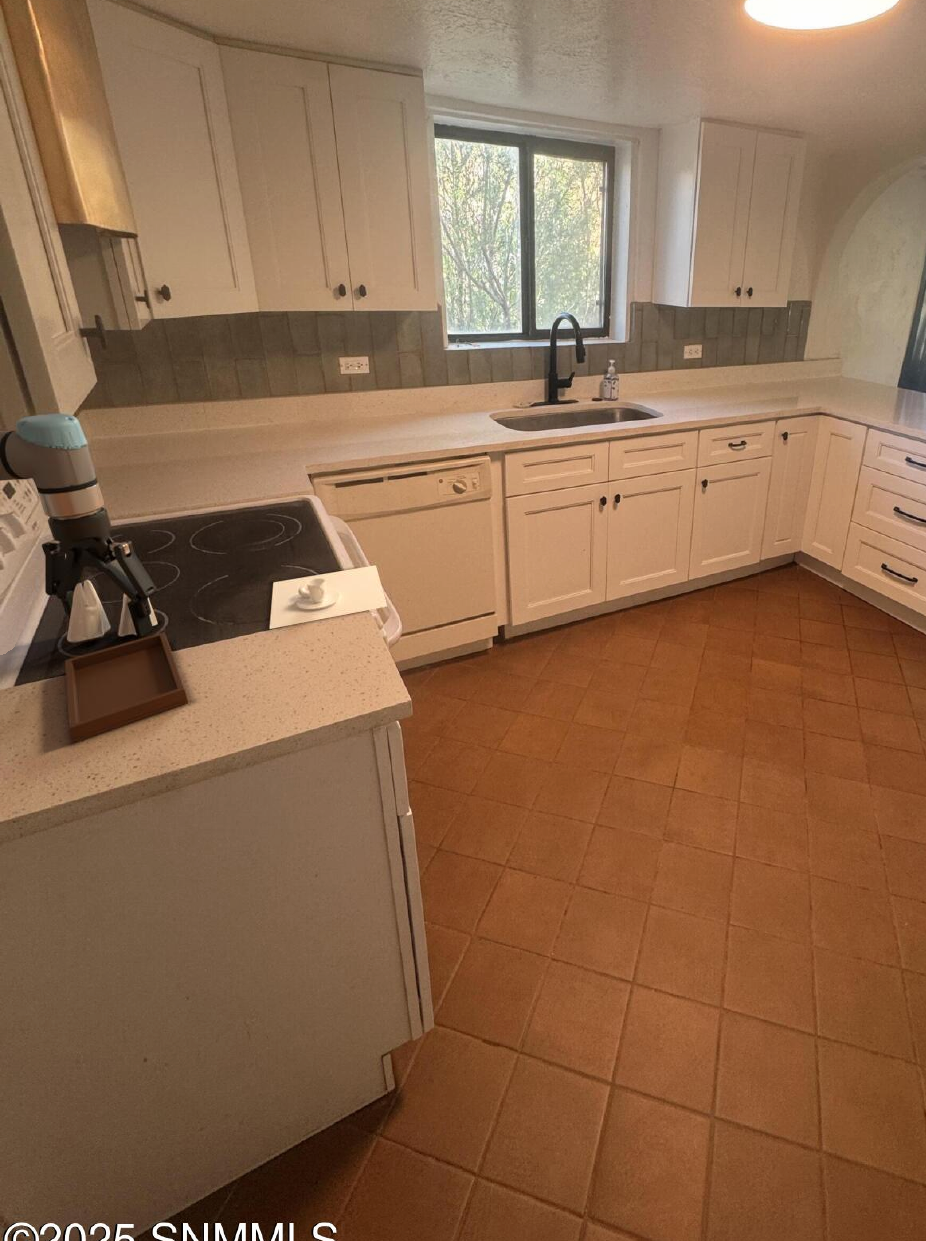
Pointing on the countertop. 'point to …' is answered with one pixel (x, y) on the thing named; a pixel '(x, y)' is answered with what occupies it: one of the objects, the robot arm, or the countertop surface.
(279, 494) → the countertop surface
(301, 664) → the countertop surface
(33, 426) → the robot arm
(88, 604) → the shaker set
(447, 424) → the countertop surface
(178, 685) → the tray
